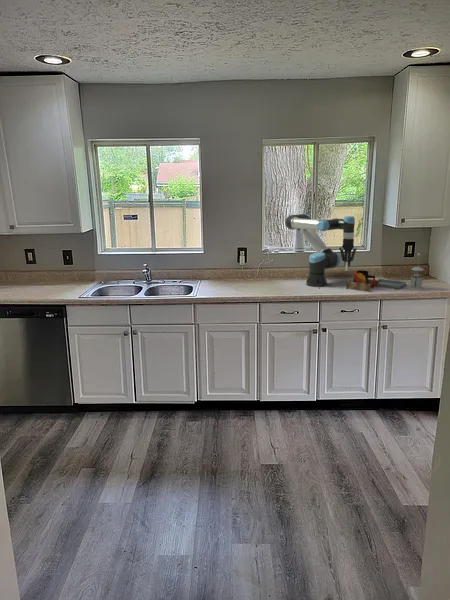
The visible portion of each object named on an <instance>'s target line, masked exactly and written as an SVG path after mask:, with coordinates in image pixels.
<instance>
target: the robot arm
mask: <svg viewBox="0 0 450 600" xmlns="http://www.w3.org/2000/svg"><path fill="white" fill-rule="evenodd" d="M355 220H356V218H355V216H354V215H353V216H351V215H347V216H344V217H343V218H332V219H314V218H312V217H311V216H310V215H309V214H307V213H300V214H291V215H288V216H287V217H286V219H285V221H284V225H285V227H286V228H287V229H288V230H291V231H293V230H294V231H295V230H298V232H299V233H300V234H303V236H304V237H305V238H306V240H307V241H308V243H309V244H310V245H311V246H312V249H314V251H315V252H314V253H311V254H310V255H309V259H308V277H307V279H306V282H305V284H306V285H307V286H308V287H318V288H319V287H326V286H327V283H328V281H327V278H326V275H325V274H326V270H329V269H335V268H337V267H338V266H339V265H340V263H341V261H343V262H344V267H345V270H344V271H346V272H349V271H350V267H351V262H353V261H354V259H355V255H356V252H357V250H358V248H357V247H355V245H354V244H355V224H356V222H355ZM316 230H317V231H319V232H327V231H333V230H342V231H343V234H342V238H343V239H342V245H341V246H340V247H339V248H338V249H339V252H340V253H338V252H336V251H333V249H331V248H330V247H328V246H327V245H326V244H325V242H324V241H323V239H322V238H321V237H320V236H319V235H318V233H317V232H316Z"/></svg>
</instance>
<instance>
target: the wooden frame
mask: <svg viewBox="0 0 450 600" xmlns="http://www.w3.org/2000/svg"><path fill="white" fill-rule="evenodd" d="M352 279H353V280H347V281H346V285H345V286H346V287H345V288H346V289H347V290H352V291H361V292H368V293H370V292H371V289H372V288H371V286H373V279H372V278H368V284H362V283H355V282H354V278H352ZM378 285H379V280H378V279H375V288H379V287H378Z"/></svg>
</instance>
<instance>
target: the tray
mask: <svg viewBox="0 0 450 600" xmlns="http://www.w3.org/2000/svg"><path fill="white" fill-rule="evenodd" d="M377 280H379V285H378V287H377V288H379V287H380V288H386V289H387V288H388V289H395V290H400V289H401V288H403V287H405V286H406V285H407V281H403V280H402V281H400V280H392V279H385V278H378V279H377Z"/></svg>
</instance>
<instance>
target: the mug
mask: <svg viewBox="0 0 450 600" xmlns="http://www.w3.org/2000/svg"><path fill="white" fill-rule="evenodd" d="M353 279H354V282H355V283H362V284H368V279H372V280H373V286H371V289H375V288H376V287H375V280H376V275H370V274H369V271H367V270H360V269H359V270H354V272H353Z"/></svg>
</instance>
